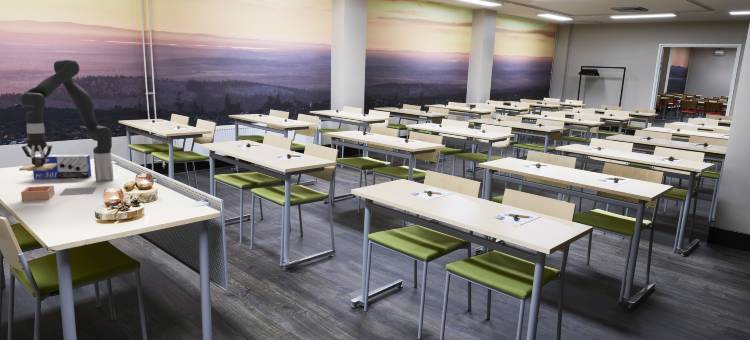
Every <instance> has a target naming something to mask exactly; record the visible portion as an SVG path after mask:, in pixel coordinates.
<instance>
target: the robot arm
mask: <svg viewBox="0 0 750 340" xmlns="http://www.w3.org/2000/svg"><path fill="white" fill-rule="evenodd" d="M53 70H54V72H55V73H54V74H52V75H50V76H47V78H44V79H43V80H42V81H41V82H40V83H39V84H37V85H36V86H35V87H32V88H31V89H28V90H26V91H25V92H24V93H22V95H21V97H20V102H21V104H22V106H25V107H31V108H33V109H32V111H31V110H30V111H27V112H26V115H25V116H26V133H27V134H26V135H27V136H26V137H27V143H26V144H25V145H22V146H21V149H22V150H23V152H24V154H25V156H26V157H27V158H30V159H31V164H33V165H35V155H36V153H37V152H39V154H41V157H42V158H41V161H42V165H44V164H45V163H46V161H45V157H47V156H49V155H51V154H50V153H51V151H52V149H53V145H52V144H51V145H50V144H47V142H46V133H45V126H44V124H45V123H44V116H43V115H44V111H45V106H46V98H48V97H49V96H50V95H52V93H53V92H55V90H57V89H58V88H59V87H60V86H62V85H63V87H64V88H65V90H66V91H67V93H68V95H69V96H70V99H71V100H72V103H73V104H74V107H75V108H76V110H77V112H78V114H79V116H80V118H81V119H82V121H83V123H84V126H85V129H86V132H87V133H88V136H89V138H90V139H91V140H92V141H95V142H96V143H97V144H96V146H95V147H93V163H94V174H95V182H99V183H100V182H101V183H102V182H104V183H105V182H112V181H113V180H114V170H113V169H114V167H113V163H112V150H111V149H112V145H113V144H112V142H113V137H112V131H111V129H110V128H109V127H107V126H101V125H100V124H99V123H98V120H97V119H96V116H95V104H94V102H93V100H92V98H91V96H90V94H89V93H88V92H87V91H86V90H85V89H84V88H82V87H81V86H79V85H78V84H77V82H76V81H75V80H74V77H76V76H78V74H79V73H80V65H79V63H78V61H76V60H74V59H63V60H61V59H60V60H56V61H55V62H54V63H53ZM45 149H46V153H45ZM29 150H31V153H30V151H29Z"/></svg>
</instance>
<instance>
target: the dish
mask: <svg viewBox="0 0 750 340" xmlns="http://www.w3.org/2000/svg"><path fill="white" fill-rule="evenodd" d="M20 195H21V202H22V203H23V202H25V201H44V200H50V199H52V197H53V196H54V195H55V186H54V185H42V186H38V185H37V186H27V187H25V188H24V189H23V190H22V191H21V192H20Z"/></svg>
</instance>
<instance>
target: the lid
mask: <svg viewBox="0 0 750 340" xmlns="http://www.w3.org/2000/svg"><path fill="white" fill-rule="evenodd" d="M41 158H42V157H36V158H35V165H33V164H32V163H26V164H25V165H23V166H22V167H20V168H19V171H20V172H21V171H26V172H33V171H44V170H52V169H53V168H54V167H56V166H57V165H58V163H52V164H44V165H42V161H41Z"/></svg>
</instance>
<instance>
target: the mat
mask: <svg viewBox="0 0 750 340" xmlns="http://www.w3.org/2000/svg"><path fill="white" fill-rule="evenodd" d="M97 188H98V187H97V186H93V187H92V186H89V187H88V186H87V187H73V188H72V187H71V188H70V187H69V188H68V187H67V188H64V190H62V192H61V193H60V194H59V195H58V196H59V197H60V196H77V195H93V194H94V193H95V191H96V190H97Z"/></svg>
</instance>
